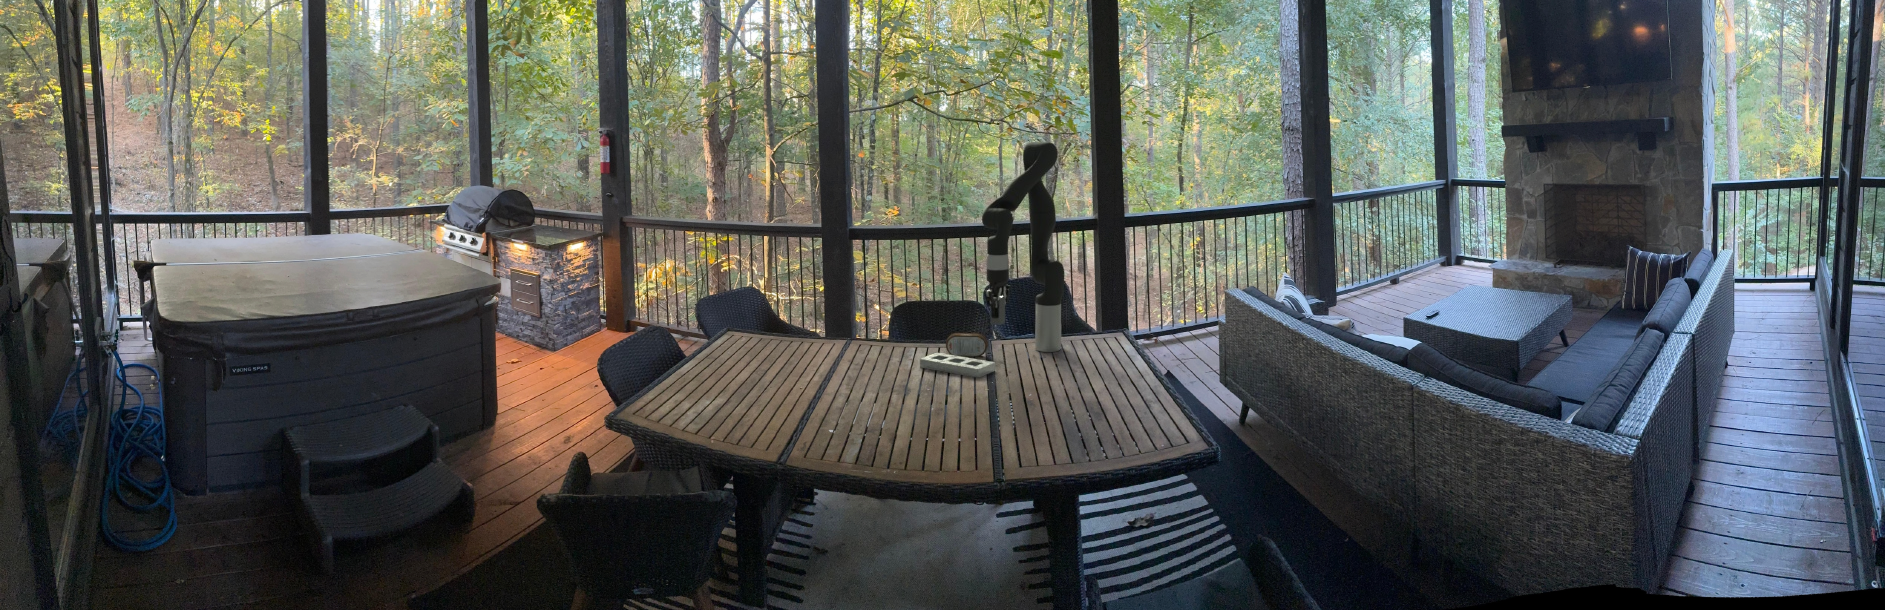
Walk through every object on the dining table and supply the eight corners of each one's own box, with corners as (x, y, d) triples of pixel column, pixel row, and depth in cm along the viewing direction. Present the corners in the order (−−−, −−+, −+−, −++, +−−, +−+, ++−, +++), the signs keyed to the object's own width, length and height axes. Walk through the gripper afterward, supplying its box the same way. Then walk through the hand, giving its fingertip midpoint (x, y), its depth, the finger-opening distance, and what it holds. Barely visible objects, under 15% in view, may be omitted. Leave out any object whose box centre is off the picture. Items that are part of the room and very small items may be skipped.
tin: (987, 355, 326) (987, 332, 324) (987, 357, 322) (987, 334, 321) (946, 355, 327) (945, 332, 325) (945, 357, 324) (945, 334, 322)
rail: (936, 360, 319) (936, 352, 318) (994, 370, 305) (994, 362, 305) (920, 367, 311) (919, 358, 311) (978, 377, 297) (978, 369, 297)
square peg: (996, 322, 312) (996, 296, 310) (1005, 323, 310) (1005, 297, 308) (990, 324, 309) (990, 298, 307) (999, 325, 307) (999, 299, 305)
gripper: (995, 271, 298) (996, 322, 301) (1018, 265, 309) (1017, 314, 313) (976, 269, 302) (977, 319, 306) (999, 263, 314) (999, 312, 317)
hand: (997, 316), depth 309 cm, fingers closed on square peg, 3 cm apart
